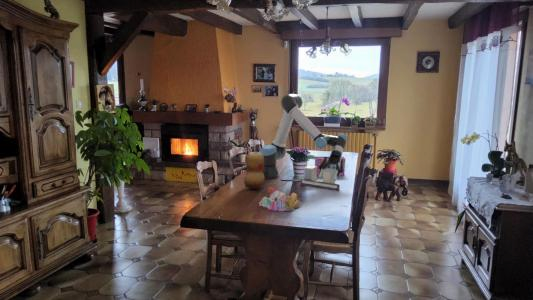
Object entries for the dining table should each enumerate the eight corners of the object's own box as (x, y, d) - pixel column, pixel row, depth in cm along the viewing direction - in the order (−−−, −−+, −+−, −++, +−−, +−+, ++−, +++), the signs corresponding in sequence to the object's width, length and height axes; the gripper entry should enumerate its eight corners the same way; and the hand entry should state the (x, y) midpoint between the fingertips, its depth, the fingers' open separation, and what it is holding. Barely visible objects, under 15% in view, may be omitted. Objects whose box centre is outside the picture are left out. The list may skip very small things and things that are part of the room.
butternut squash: (254, 192, 243) (254, 154, 239) (240, 188, 252) (240, 152, 248) (268, 188, 253) (269, 152, 249) (254, 185, 262) (255, 149, 258)
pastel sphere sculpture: (305, 202, 226) (305, 187, 224) (295, 214, 204) (295, 198, 202) (266, 197, 234) (266, 183, 232) (252, 209, 212) (252, 193, 210)
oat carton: (308, 181, 273) (309, 165, 271) (316, 183, 270) (317, 166, 268) (303, 184, 266) (304, 167, 264) (311, 185, 263) (312, 168, 261)
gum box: (343, 173, 302) (344, 156, 300) (346, 175, 295) (347, 158, 292) (314, 173, 301) (314, 156, 299) (316, 175, 293) (316, 158, 291)
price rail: (300, 184, 264) (300, 179, 263) (302, 184, 266) (302, 178, 265) (338, 191, 249) (338, 185, 249) (339, 190, 251) (339, 184, 251)
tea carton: (326, 184, 266) (327, 168, 264) (334, 185, 262) (335, 169, 260) (322, 187, 259) (322, 170, 257) (330, 188, 256) (330, 171, 254)
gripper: (353, 158, 264) (344, 184, 254) (323, 154, 276) (313, 179, 266) (351, 151, 259) (341, 178, 249) (320, 148, 271) (310, 173, 261)
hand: (327, 178), depth 257 cm, fingers open, 10 cm apart
